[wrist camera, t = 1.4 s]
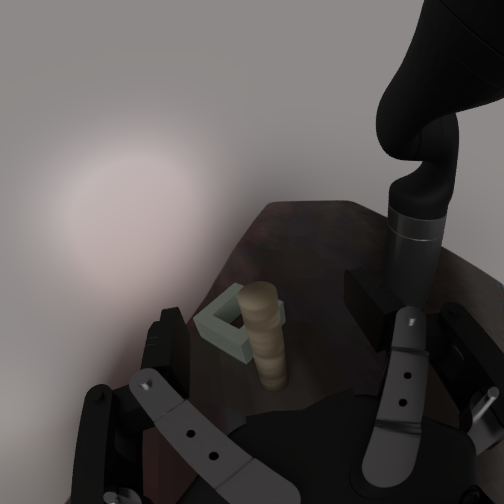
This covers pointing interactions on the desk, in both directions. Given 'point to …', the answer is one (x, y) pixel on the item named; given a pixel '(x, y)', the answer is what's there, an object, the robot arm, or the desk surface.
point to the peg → (264, 333)
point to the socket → (227, 324)
